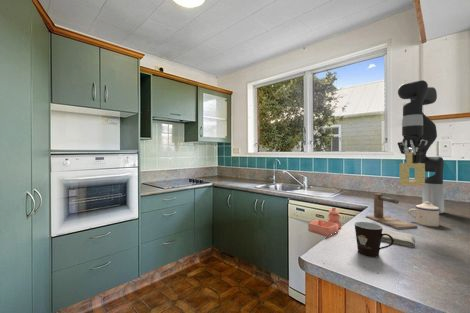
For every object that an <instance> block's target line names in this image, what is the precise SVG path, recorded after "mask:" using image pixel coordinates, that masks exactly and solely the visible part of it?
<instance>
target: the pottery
mask: <svg viewBox="0 0 470 313" xmlns="http://www.w3.org/2000/svg"><path fill="white" fill-rule="evenodd" d="M328 213H329V214H328V216H327V217H328V220H326V221H325V220H321V219H316V220H312V221H310V222H308V224H307V225H308V226H307V227H308V228H307V229H308V230H307V231H308V232H310V233H313V234H316V235H320V236H323V237H326V238H329V237H331V236H333V234H334V233H335V232H338V233H339V230H340V229H342V222H341V221H340V219H341V216H340V211H339V209H337V207H332V209H329V210H328ZM339 228H340V229H339ZM331 234H332V235H331ZM330 235H331V236H330ZM334 235H335V234H334ZM328 236H329V237H328Z"/></svg>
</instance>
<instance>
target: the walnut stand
mask: <svg viewBox="0 0 470 313" xmlns="http://www.w3.org/2000/svg"><path fill="white" fill-rule="evenodd" d="M384 202H387V203H393V204H396V205H398V204H399V203H400V201H399V200H398V199H395V198H390V197H387V196H384V193H376V192H375V193H373V215H372V214H371V215H365V218H367V219H370V220H373V221H374V222H377V223H380V224H382V225H384V226H388V227H390V228H393V229H395V230H405V229H406V230H408V229H418V225H416V224H413V223H409V222H406V221H404V220H400V219H398V218H394V217H392V216H388V215H385V214H384Z"/></svg>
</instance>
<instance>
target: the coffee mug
mask: <svg viewBox="0 0 470 313" xmlns="http://www.w3.org/2000/svg"><path fill="white" fill-rule="evenodd" d="M382 229H384V228H383V225H381V224H378V223H374V222H370V221H369V222H368V221H357V222H354V230H355V239H356V244H357V245H356V246H357V252H358V254H360V255H362V256H364V257H368V258H379V256H380V250H383V249H386V248H390V247H391V246H393V245H394V244H395V243H394V240H393V238H392V236H390V235H389V234H386V233H384V234H382ZM384 235H387V236H389V237H390V238H391V241H392V242H391V243H389V244H388V245H386V246H385V245H384V246H381V243H382V241H381V238H382V236H384Z"/></svg>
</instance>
